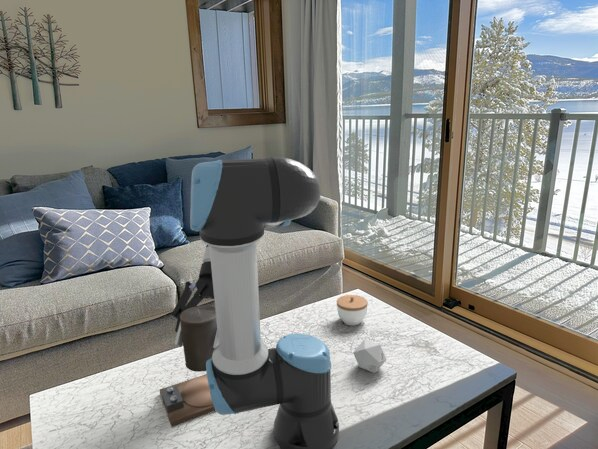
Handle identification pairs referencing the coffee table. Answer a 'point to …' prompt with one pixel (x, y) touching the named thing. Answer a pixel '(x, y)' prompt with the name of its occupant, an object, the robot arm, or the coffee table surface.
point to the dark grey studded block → (172, 399)
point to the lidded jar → (352, 309)
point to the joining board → (192, 400)
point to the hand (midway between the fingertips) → (196, 347)
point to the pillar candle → (198, 336)
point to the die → (369, 356)
